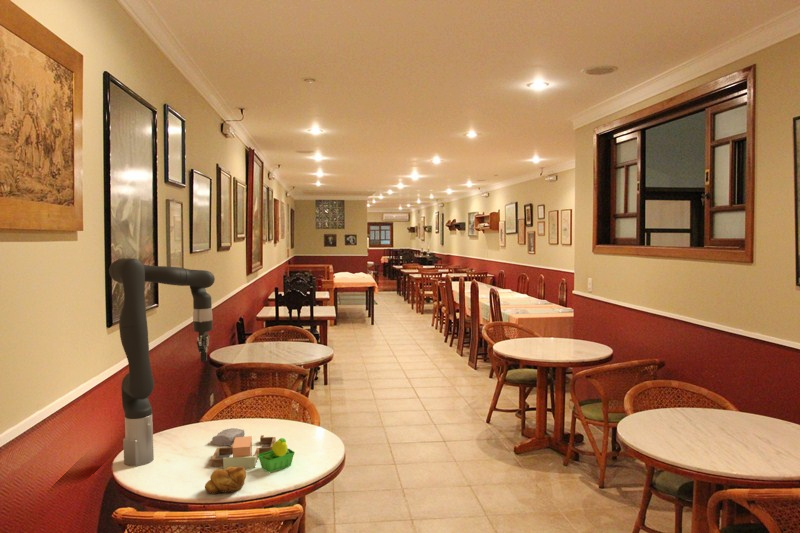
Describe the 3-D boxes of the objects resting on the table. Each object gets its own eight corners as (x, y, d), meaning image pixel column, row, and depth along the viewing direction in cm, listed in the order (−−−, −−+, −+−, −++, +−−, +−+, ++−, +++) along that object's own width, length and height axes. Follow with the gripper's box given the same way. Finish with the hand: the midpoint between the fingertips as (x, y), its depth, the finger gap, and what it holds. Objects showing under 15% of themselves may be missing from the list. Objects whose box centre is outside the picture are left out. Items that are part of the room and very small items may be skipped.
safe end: (223, 468, 204) (223, 457, 203) (255, 466, 205) (255, 456, 205) (223, 469, 203) (223, 458, 202) (255, 468, 204) (254, 457, 204)
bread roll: (204, 498, 180) (204, 473, 180) (204, 486, 190) (204, 462, 189) (246, 492, 185) (246, 468, 184) (244, 480, 194) (244, 457, 193)
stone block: (210, 449, 228) (233, 446, 226) (208, 437, 228) (231, 434, 226) (225, 440, 239) (247, 436, 237) (223, 428, 239) (244, 425, 237)
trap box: (223, 443, 229) (222, 437, 229) (276, 440, 231) (276, 434, 231) (209, 469, 203) (209, 462, 203) (269, 466, 205) (269, 459, 205)
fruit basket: (284, 459, 211) (283, 429, 211) (298, 466, 205) (297, 435, 204) (256, 468, 203) (256, 437, 203) (270, 476, 197) (269, 444, 196)
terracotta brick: (235, 456, 215) (235, 437, 214) (252, 455, 216) (251, 436, 216) (233, 468, 204) (232, 447, 204) (250, 467, 205) (249, 446, 205)
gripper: (197, 317, 238) (198, 358, 239) (189, 321, 225) (190, 365, 226) (215, 316, 239) (216, 357, 240) (208, 321, 226) (210, 364, 227)
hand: (204, 361), depth 233 cm, fingers closed
